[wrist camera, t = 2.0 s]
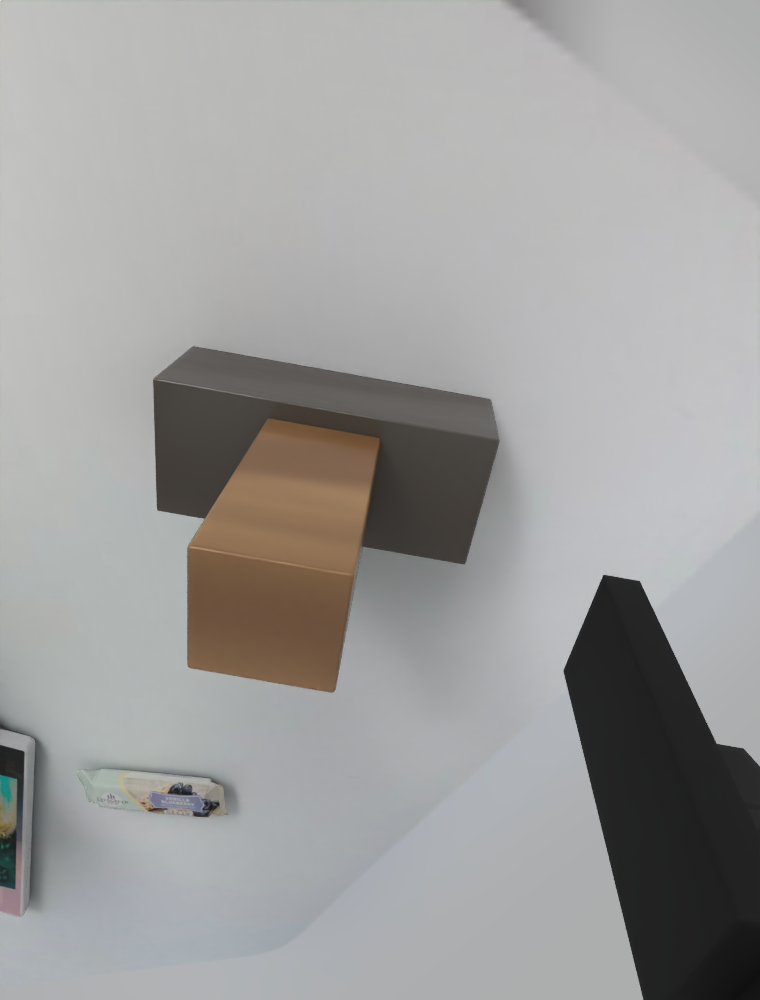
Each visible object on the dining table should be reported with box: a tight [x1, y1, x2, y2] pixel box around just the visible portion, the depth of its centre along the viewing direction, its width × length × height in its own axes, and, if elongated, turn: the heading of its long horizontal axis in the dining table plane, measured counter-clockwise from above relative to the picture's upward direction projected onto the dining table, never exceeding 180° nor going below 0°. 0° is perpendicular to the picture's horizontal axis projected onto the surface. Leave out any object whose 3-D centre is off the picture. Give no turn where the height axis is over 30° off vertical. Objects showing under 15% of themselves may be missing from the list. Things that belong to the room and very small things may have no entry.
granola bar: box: [77, 769, 228, 817], centre depth 28 cm, size 7×2×1 cm, turn 87°
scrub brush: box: [153, 347, 499, 693], centre depth 16 cm, size 4×9×9 cm, turn 81°
